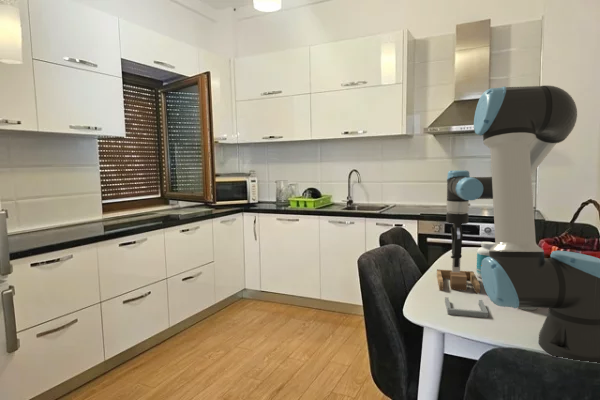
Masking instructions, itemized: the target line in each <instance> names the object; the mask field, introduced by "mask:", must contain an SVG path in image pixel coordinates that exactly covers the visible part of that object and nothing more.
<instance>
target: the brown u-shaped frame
mask: <svg viewBox="0 0 600 400" xmlns="http://www.w3.org/2000/svg"><path fill="white" fill-rule="evenodd" d="M450 272H452V269H436V280H437V285H438V290H439V291H442V292H443V291H444V279H449V280H450ZM460 273H465V274H466V276H467V281H470V283H471V285H472V287H473V289H474V292H475V294H481V284H480V281H479V280H478V277H477V275H476V274H475V272H474V271H470V270H460Z"/></svg>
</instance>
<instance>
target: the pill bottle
mask: <svg viewBox="0 0 600 400" xmlns="http://www.w3.org/2000/svg"><path fill="white" fill-rule="evenodd" d="M494 244H495V242H492V241H482V242H480V246H481V247H479V248H478V249H477V251H476V272H475V273H476V274H475V275H476V277H477V278H479V279H482V276H481V263H482V260H483V259H484V258H486V257H489V249H490V248H492V247H493V246H494Z"/></svg>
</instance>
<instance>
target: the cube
mask: <svg viewBox="0 0 600 400" xmlns="http://www.w3.org/2000/svg"><path fill="white" fill-rule="evenodd" d="M467 281H468V280H467V276H466V274H465V273H460V272H450V279H449V287H450V290H452V291H454V290H455V291H464V292H465V291H466V292H467V287H468V286H467V285H468V284H467Z"/></svg>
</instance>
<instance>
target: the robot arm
mask: <svg viewBox="0 0 600 400" xmlns="http://www.w3.org/2000/svg"><path fill="white" fill-rule="evenodd" d="M577 118H578V109H577V105H576V101H575V100H574V98H573V97H572V95H571V94H569V92H568V91H566V90H564V89H563V88H560V87H559V86H554V85H539V86H538V85H536V86H535V85H533V86H501V87H491V88H488V89H486V90H485V91H484V92H482V94H481V96H480V97H479V99H478V102H477V104H476V109H475V111H474V118H473V130H474V134H476V135H477V136H479V137H481V136H482V139H483V144H484V146H486V147H487V148H489V150H490V165H491V167H490V168H491V169H490V170H491V176H473V177H472V176H470V175H471V174H470V171H469V170H464V169H463V170H459V169H458V170H456V169H455V170H449V171H448V172H447V178H446V184H447V185H446V207H445V208H446V220H445V222H447V223H448V224H452V226H451V227H450V231H451V256H450V259H451V270H452V272H460V271H461V258H462V247H463V237H464V235H463V234H464V228H463V227H462V225H466V224H468V223H469V213H468V212H469V207H470V206H471V203H469V201H475V200H492V201H493V205H492V206H493V219H494V221H493V222H494V223H493V224H494V241H495V242H494V243H495V244H494V246H493V247H492V248H490V249H489V257H486V258H484V259H483V260H482V263H481V265H482V266H481V276H482V278H481V281H482V284H483V288H484V290H485V293H486V295H487V297H488V298H489V300H490V301H491V302H492V303H493V304H494V305H496V306H498V307H502V308H503V307H504V308H513V309H519V308H518V307H524V308H537V309H548V313H547V315H546V318H545V320H544V322H543V324H542V325H541V328H540V330H539V333H538V346H540V348H541V349H543V351H545V352H546V353H548V354H550V355H551V356H553V357H556V356H558V357H563V358H568V359H573V360H580V361H589V362H597V363H600V258H598V257H597V256H596V257H595V256H592V255H587V254H584V253H580V252H576V251H575V252H574V251H568V250H567V251H566V250H553V251H551V254H549V255H550V257H548V258H547V257H545V251H544V249H543V248H541V247H540V246H539V245H538V244H537V241H536V226H535V212H534V197H533V195H534V194H533V181H532V179H533V178H532V175H533V173H535V171H536V170H537V169H538V167H540V164H541V163H542V162H543V161H544V160H545V158H546V157H547V156H548V154H549V153H550V152H551V151H552V150H553V149H554V147H555V146H556V144H560V143H562V142H564V141H565V140H566V139H567V138H568V137H569V135H570V134H571V133H572V131H573V130H574V127H575V126H576V123H577ZM558 357H557V358H558Z"/></svg>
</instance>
